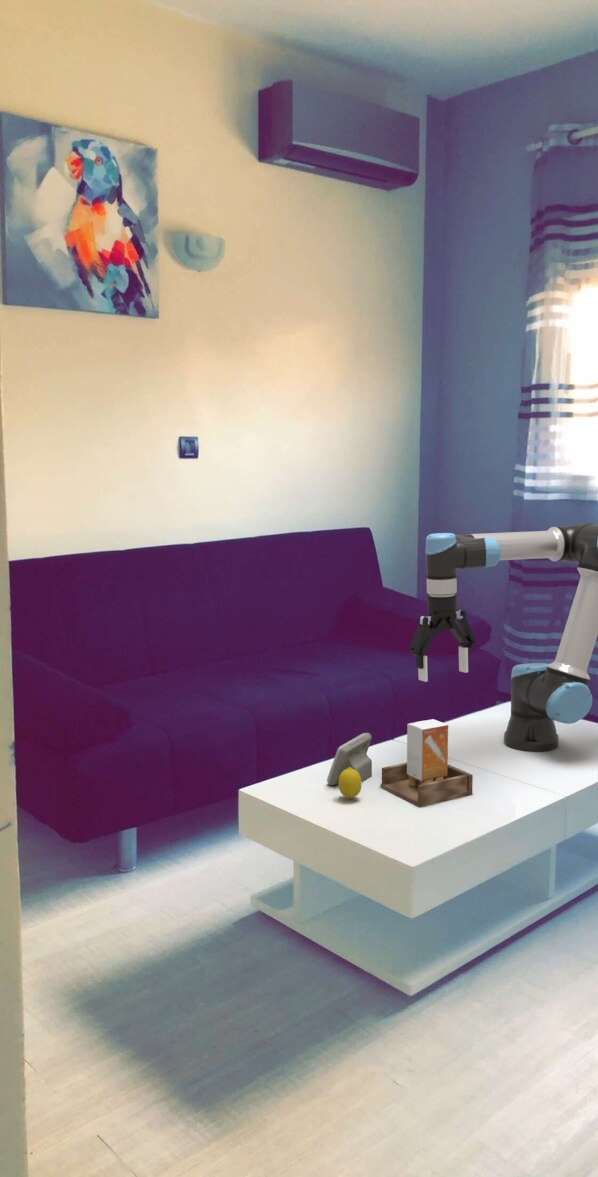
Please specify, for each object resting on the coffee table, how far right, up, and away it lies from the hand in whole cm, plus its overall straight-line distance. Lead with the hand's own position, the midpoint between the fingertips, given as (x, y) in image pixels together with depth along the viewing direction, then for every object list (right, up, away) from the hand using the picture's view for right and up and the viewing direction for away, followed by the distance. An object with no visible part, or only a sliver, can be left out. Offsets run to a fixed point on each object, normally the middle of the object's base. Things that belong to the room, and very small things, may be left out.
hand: (443, 676), depth 248 cm
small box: (-6, -24, -11) cm, 26 cm away
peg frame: (-6, -27, -10) cm, 30 cm away
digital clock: (-24, -26, 0) cm, 36 cm away
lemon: (-25, -29, -15) cm, 41 cm away
